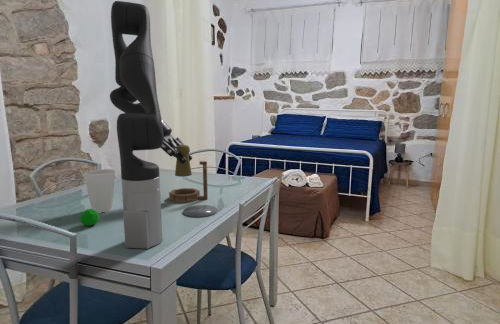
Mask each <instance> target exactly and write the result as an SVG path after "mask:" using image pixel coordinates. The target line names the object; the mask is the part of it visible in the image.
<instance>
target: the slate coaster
mask: <svg viewBox="0 0 500 324" xmlns="http://www.w3.org/2000/svg"><path fill="white" fill-rule="evenodd" d="M215 213H216V214H217V213H218V208H217V207H216V206H213V205H210V204H209V205H208V204H197V205H191V206H187V207H185V208H184V209H183V214H184V216H186V217H190V218H205V217H210V216H211V217H212V216H214V215H216V214H215Z"/></svg>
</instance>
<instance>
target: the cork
mask: <svg viewBox="0 0 500 324" xmlns="http://www.w3.org/2000/svg"><path fill="white" fill-rule="evenodd" d="M177 150H178V151H179V153H181V154H182V155H183V156H184V157H185V158H186V160H187V161H186V162H185V163H184V164H181V163H180V162H179V160H178V159H177V158H176V163H175V170H174V171H175V173H174V176H175V177H190V176H192V167H191V163H190V162H191V161H189V155H188V154H190V151H191V148H190V146H189V145H186V144H184V145H178V146H177Z"/></svg>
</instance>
